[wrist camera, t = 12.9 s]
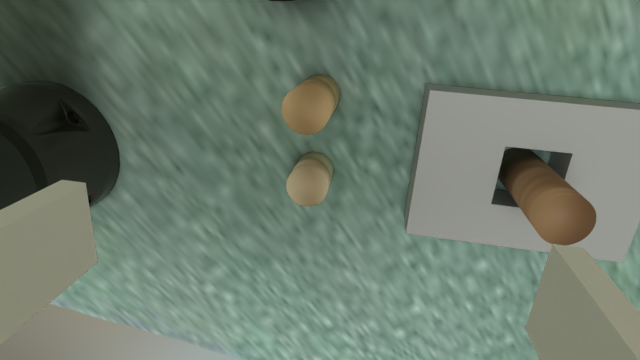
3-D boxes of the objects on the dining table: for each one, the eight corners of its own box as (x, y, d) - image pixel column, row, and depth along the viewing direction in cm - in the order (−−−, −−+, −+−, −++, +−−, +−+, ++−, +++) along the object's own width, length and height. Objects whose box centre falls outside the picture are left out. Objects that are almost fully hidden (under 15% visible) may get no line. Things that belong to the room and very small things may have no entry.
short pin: (295, 184, 45) (285, 203, 40) (297, 149, 43) (286, 165, 39) (332, 189, 44) (325, 208, 40) (335, 154, 43) (329, 170, 38)
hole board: (404, 215, 44) (405, 233, 40) (425, 83, 39) (429, 90, 35) (602, 241, 42) (623, 262, 38) (653, 104, 37) (683, 114, 33)
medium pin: (299, 112, 42) (280, 132, 34) (301, 72, 40) (282, 83, 33) (338, 116, 41) (328, 137, 34) (341, 75, 40) (332, 88, 33)
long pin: (491, 182, 41) (529, 241, 30) (500, 144, 40) (543, 191, 29) (532, 187, 41) (586, 249, 30) (543, 149, 40) (604, 199, 28)
